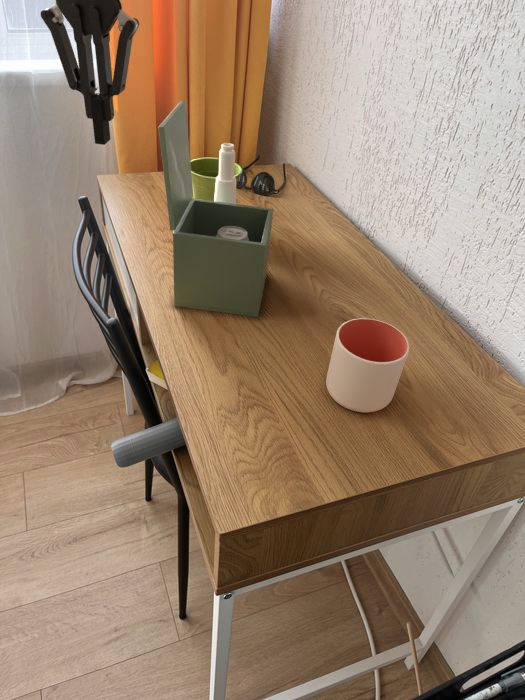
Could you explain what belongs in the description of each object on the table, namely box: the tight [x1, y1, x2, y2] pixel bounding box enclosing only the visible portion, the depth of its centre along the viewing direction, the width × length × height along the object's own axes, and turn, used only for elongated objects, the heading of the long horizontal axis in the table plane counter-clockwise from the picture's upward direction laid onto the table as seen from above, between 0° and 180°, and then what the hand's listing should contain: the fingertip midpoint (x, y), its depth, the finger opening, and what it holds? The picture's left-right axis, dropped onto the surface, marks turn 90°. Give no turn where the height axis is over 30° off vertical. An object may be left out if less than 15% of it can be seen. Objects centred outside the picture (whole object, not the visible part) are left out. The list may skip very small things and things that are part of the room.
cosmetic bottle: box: [214, 142, 237, 204], centre depth 98 cm, size 6×6×22 cm
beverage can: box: [216, 226, 249, 241], centre depth 90 cm, size 6×6×12 cm
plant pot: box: [190, 157, 243, 201], centre depth 114 cm, size 12×12×11 cm
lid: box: [157, 100, 194, 232], centre depth 82 cm, size 15×14×1 cm
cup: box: [325, 317, 410, 413], centre depth 75 cm, size 10×10×10 cm
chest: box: [172, 197, 274, 318], centre depth 91 cm, size 15×14×14 cm
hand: (102, 141), depth 81 cm, fingers closed
